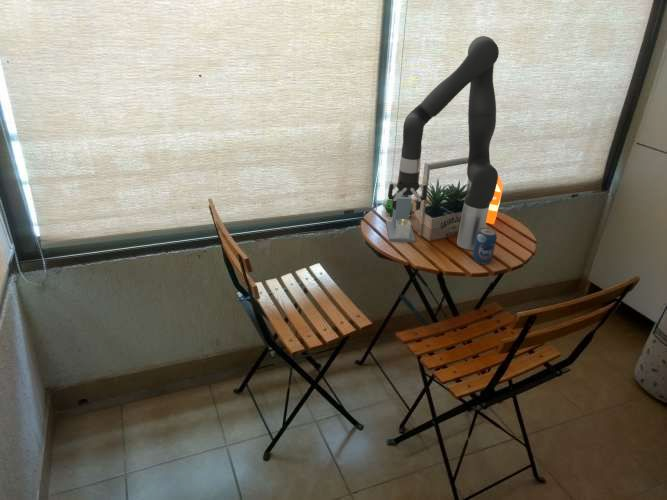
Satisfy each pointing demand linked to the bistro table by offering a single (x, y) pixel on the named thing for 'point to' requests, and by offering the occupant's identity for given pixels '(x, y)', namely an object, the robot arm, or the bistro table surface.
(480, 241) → the soda can
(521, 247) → the bistro table surface
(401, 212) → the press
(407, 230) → the block
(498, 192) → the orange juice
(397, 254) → the bistro table surface
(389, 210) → the clamp
